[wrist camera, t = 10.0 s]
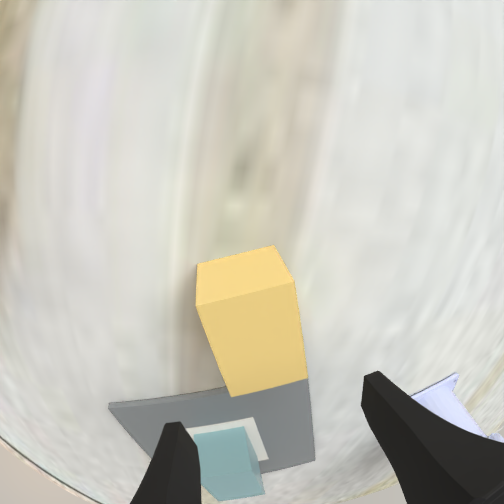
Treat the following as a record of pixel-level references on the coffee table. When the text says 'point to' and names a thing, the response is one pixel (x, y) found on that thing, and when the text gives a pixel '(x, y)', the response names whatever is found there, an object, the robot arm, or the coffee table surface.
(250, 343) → the ochre brick
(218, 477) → the teal brick
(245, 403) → the baseplate
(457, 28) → the coffee table surface
